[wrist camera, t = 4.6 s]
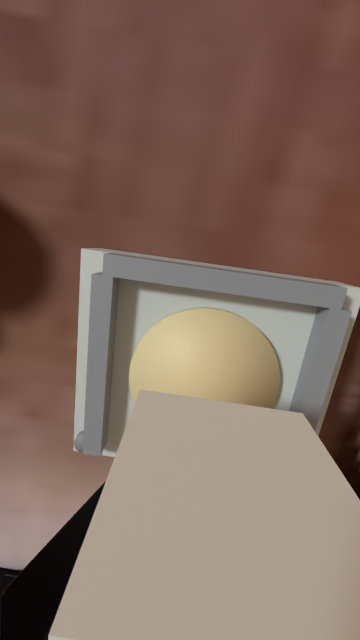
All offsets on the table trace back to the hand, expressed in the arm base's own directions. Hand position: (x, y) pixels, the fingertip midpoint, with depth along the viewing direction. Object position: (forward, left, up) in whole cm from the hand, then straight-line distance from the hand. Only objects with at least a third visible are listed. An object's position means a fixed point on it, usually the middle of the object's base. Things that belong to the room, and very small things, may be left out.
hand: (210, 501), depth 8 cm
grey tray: (0, 0, -10) cm, 10 cm away
